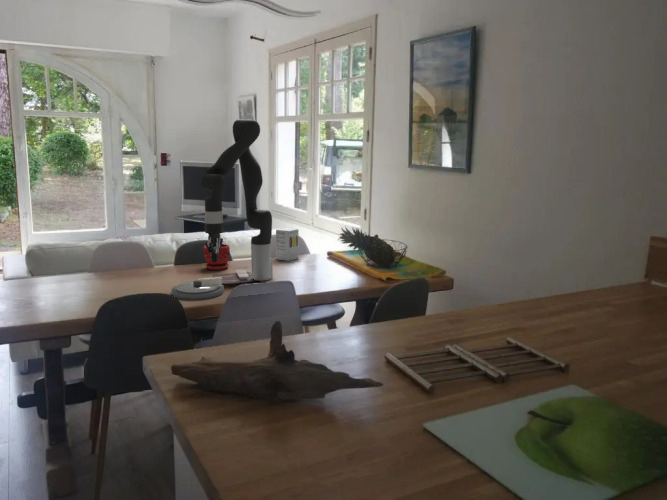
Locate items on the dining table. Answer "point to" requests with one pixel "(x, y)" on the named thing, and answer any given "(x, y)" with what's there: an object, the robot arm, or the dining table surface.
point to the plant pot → (222, 258)
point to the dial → (200, 285)
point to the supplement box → (287, 244)
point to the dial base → (199, 295)
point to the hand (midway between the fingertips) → (214, 261)
